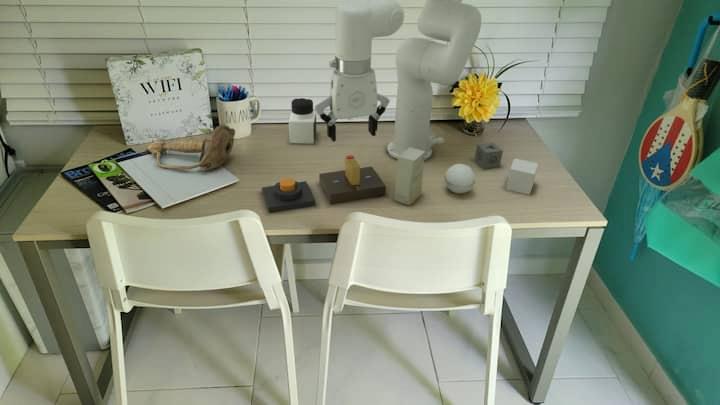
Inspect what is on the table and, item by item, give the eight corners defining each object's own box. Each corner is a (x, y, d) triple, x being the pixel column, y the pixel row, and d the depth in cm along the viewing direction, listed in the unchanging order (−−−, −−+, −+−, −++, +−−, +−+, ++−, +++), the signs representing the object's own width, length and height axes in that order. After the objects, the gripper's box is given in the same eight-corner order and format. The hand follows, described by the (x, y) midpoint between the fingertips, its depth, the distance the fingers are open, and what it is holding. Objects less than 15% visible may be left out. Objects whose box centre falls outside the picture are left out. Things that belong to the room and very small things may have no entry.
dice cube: (499, 166, 140) (502, 150, 137) (483, 169, 138) (486, 152, 135) (490, 158, 143) (493, 142, 141) (474, 160, 142) (477, 144, 139)
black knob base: (306, 186, 128) (306, 174, 126) (315, 206, 121) (315, 193, 119) (262, 193, 125) (261, 180, 123) (268, 213, 118) (267, 200, 116)
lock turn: (359, 184, 124) (360, 165, 121) (351, 185, 123) (352, 166, 120) (352, 173, 128) (353, 154, 125) (344, 174, 127) (345, 156, 124)
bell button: (293, 183, 123) (293, 177, 122) (296, 191, 120) (296, 184, 119) (278, 185, 122) (278, 179, 121) (281, 193, 119) (281, 187, 118)
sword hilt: (211, 159, 125) (232, 115, 133) (120, 146, 128) (146, 104, 137) (221, 184, 133) (241, 141, 141) (136, 171, 137) (160, 130, 145)
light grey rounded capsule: (440, 183, 131) (444, 158, 127) (469, 183, 131) (473, 158, 127) (447, 205, 123) (451, 178, 119) (477, 205, 123) (482, 179, 119)
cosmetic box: (409, 206, 122) (414, 161, 115) (393, 200, 124) (396, 156, 117) (421, 194, 126) (426, 151, 120) (405, 189, 128) (409, 145, 122)
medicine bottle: (314, 144, 147) (313, 105, 141) (289, 143, 147) (287, 104, 140) (316, 133, 153) (315, 95, 146) (292, 132, 153) (291, 94, 146)
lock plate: (371, 176, 133) (372, 165, 131) (385, 196, 125) (386, 185, 123) (319, 183, 129) (319, 173, 127) (330, 205, 121) (330, 193, 120)
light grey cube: (529, 195, 128) (534, 174, 125) (505, 189, 130) (510, 168, 127) (533, 183, 133) (538, 163, 129) (510, 178, 135) (514, 158, 131)
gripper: (318, 74, 104) (320, 148, 114) (397, 66, 109) (392, 138, 119) (309, 62, 110) (312, 134, 120) (384, 55, 115) (381, 125, 125)
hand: (352, 136), depth 119 cm, fingers open, 9 cm apart
